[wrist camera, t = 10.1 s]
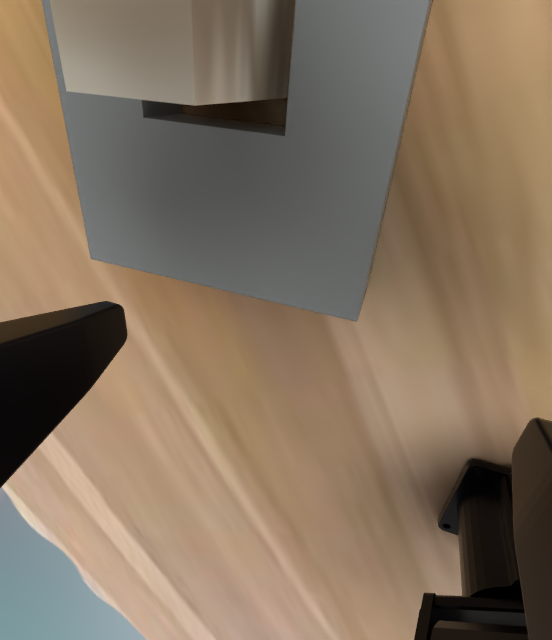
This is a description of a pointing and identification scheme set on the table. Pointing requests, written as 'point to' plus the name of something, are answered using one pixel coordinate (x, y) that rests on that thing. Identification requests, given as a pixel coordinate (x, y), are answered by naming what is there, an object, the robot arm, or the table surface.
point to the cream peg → (176, 49)
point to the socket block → (258, 166)
